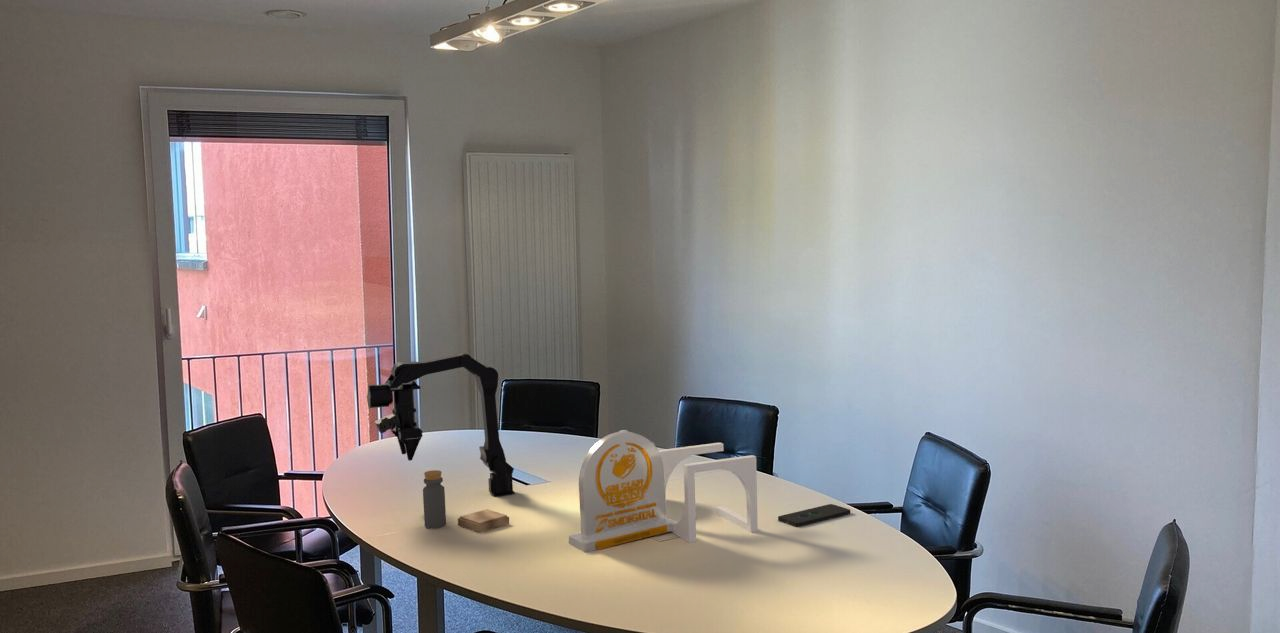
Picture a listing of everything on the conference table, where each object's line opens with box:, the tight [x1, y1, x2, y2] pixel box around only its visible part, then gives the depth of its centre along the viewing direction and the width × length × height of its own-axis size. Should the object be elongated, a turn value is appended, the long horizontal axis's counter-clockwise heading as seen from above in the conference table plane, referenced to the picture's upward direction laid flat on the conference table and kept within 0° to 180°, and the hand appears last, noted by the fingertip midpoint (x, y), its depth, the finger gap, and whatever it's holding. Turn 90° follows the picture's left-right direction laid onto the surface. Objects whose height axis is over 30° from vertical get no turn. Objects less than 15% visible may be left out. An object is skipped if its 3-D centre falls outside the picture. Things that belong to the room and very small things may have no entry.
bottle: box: [422, 469, 447, 529], centre depth 274 cm, size 6×6×15 cm
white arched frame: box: [657, 442, 759, 544], centre depth 266 cm, size 20×20×20 cm
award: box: [568, 431, 678, 553], centre depth 258 cm, size 28×9×28 cm, turn 122°
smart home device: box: [777, 503, 851, 528], centre depth 272 cm, size 8×2×20 cm
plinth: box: [457, 508, 510, 533], centre depth 274 cm, size 10×10×2 cm
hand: (406, 457), depth 295 cm, fingers open, 9 cm apart
